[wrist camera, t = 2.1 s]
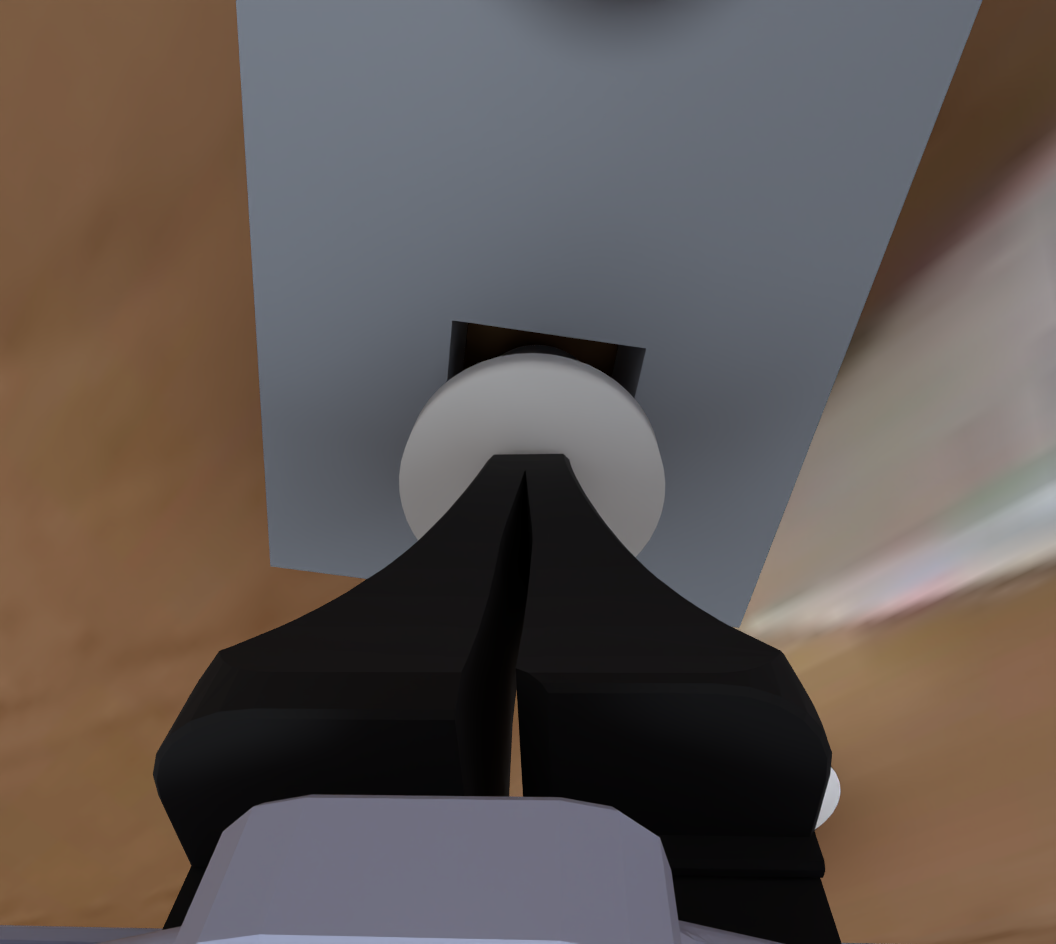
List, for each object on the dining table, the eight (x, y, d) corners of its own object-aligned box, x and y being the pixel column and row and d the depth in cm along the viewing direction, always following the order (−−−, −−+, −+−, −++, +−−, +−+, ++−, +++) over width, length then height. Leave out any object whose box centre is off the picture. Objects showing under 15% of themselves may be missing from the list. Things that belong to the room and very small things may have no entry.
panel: (1037, -455, 11) (1245, -680, 8) (710, 536, 21) (739, 627, 18) (299, -596, 11) (181, -902, 8) (318, 483, 21) (270, 566, 18)
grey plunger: (663, 317, 15) (695, 392, 12) (618, 503, 17) (633, 612, 14) (441, 284, 15) (405, 350, 11) (426, 477, 17) (393, 580, 14)
